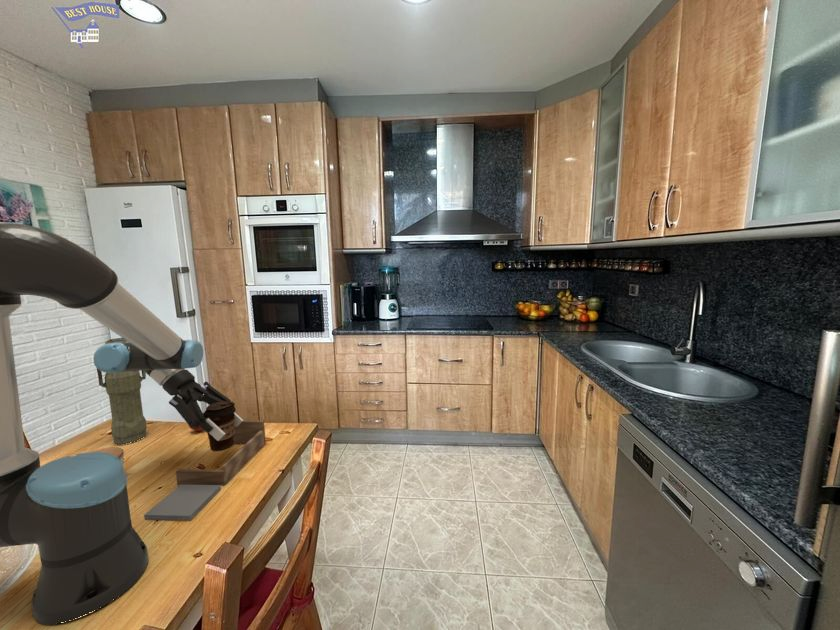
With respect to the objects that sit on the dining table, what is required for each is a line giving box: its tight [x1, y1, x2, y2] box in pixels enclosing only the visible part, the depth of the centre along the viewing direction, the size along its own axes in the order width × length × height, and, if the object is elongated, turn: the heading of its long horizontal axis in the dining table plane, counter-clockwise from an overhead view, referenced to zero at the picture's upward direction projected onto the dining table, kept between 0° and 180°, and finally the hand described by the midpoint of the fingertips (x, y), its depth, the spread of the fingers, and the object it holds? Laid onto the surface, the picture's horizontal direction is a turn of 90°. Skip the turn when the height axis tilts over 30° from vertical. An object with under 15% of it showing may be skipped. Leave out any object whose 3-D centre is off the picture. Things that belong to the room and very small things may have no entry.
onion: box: [188, 420, 203, 432], centre depth 119 cm, size 6×6×8 cm
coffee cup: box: [202, 401, 236, 453], centre depth 99 cm, size 9×8×13 cm
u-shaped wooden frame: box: [175, 419, 266, 487], centre depth 99 cm, size 22×13×8 cm, turn 178°
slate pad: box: [143, 485, 222, 522], centre depth 82 cm, size 11×11×1 cm
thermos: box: [95, 337, 148, 445], centre depth 112 cm, size 9×12×35 cm
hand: (231, 430), depth 99 cm, fingers closed on coffee cup, 8 cm apart
